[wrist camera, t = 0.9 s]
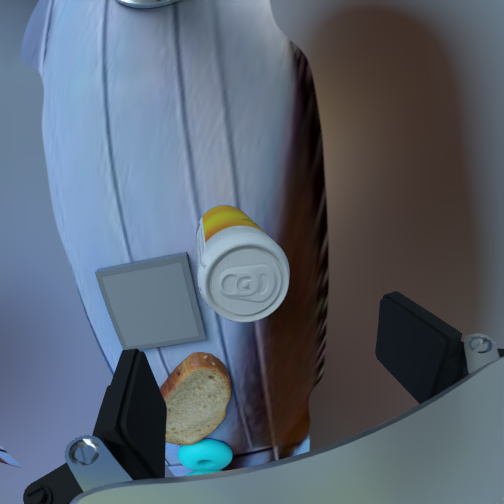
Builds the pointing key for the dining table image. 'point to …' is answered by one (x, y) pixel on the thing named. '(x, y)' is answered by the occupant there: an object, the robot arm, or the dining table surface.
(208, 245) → the beer can
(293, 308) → the dining table surface
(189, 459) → the donuts
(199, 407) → the bread slice
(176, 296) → the slate coaster
